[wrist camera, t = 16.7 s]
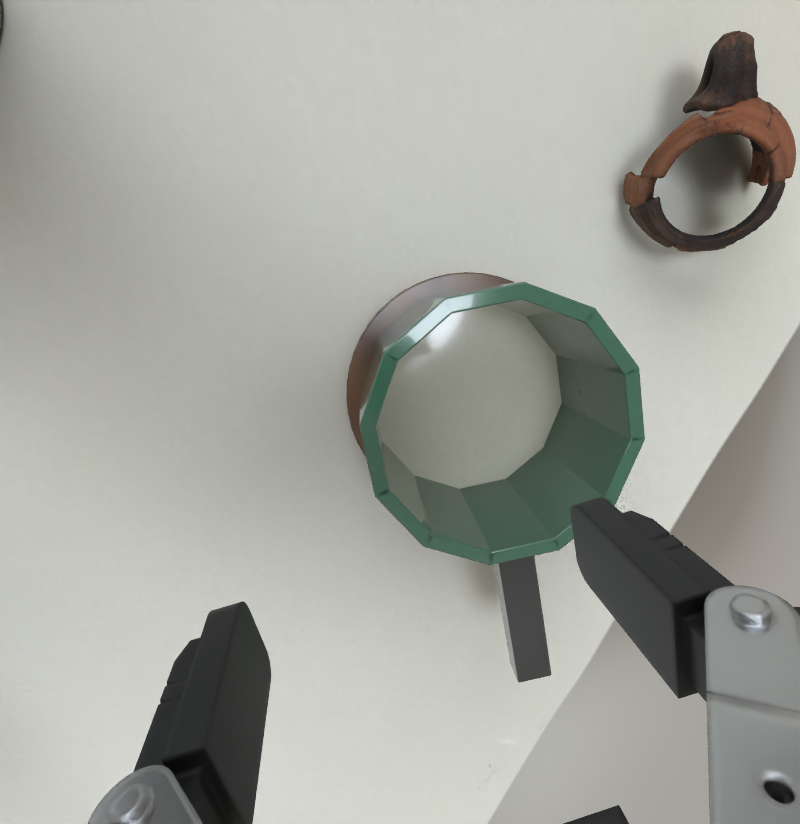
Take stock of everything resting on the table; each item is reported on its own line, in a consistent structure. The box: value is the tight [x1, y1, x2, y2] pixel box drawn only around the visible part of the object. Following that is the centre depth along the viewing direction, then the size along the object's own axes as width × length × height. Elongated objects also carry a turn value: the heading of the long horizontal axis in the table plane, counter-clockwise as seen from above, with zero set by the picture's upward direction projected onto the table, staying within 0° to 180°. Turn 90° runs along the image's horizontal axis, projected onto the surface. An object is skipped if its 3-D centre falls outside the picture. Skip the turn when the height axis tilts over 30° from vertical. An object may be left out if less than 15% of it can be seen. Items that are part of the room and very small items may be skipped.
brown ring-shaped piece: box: [623, 31, 796, 252], centre depth 32 cm, size 12×10×8 cm
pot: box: [359, 282, 645, 682], centre depth 31 cm, size 25×15×10 cm, turn 11°
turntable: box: [347, 273, 515, 456], centre depth 36 cm, size 17×17×1 cm
